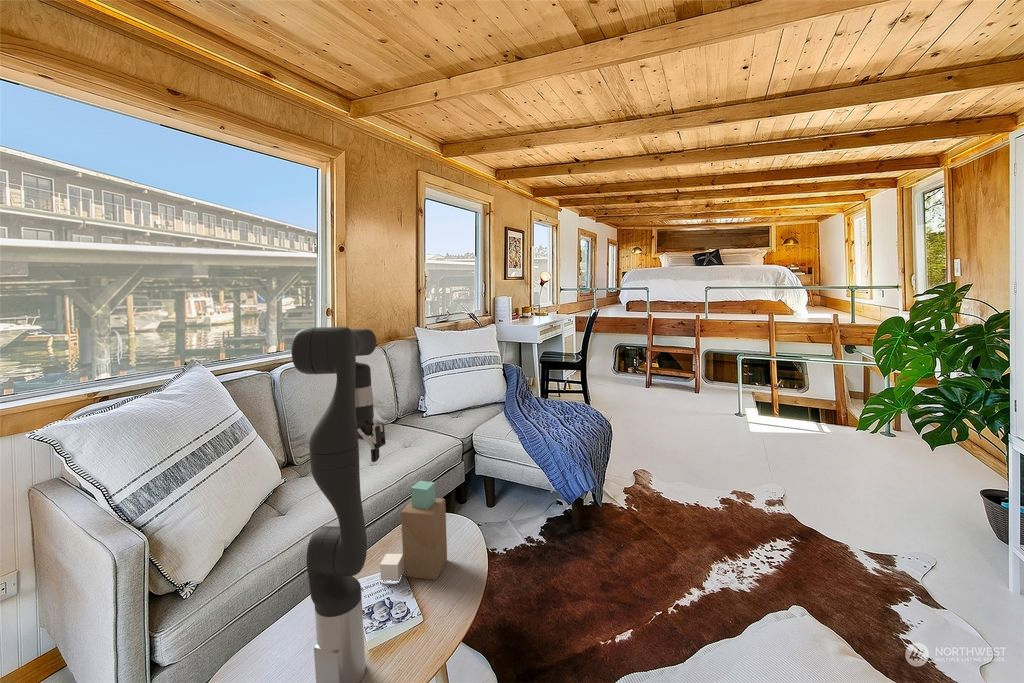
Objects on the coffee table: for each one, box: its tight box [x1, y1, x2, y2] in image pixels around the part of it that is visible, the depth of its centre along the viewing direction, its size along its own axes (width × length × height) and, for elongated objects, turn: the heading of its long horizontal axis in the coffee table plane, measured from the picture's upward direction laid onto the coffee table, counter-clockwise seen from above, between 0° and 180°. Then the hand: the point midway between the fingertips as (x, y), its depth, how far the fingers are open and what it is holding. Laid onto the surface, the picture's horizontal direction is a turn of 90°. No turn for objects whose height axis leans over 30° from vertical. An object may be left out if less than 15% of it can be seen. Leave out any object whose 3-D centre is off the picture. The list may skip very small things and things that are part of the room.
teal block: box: [410, 480, 437, 510], centre depth 128 cm, size 5×5×6 cm
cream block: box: [379, 553, 404, 581], centre depth 126 cm, size 5×5×6 cm
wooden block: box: [400, 497, 448, 581], centre depth 130 cm, size 10×10×20 cm
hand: (361, 459), depth 121 cm, fingers open, 8 cm apart
